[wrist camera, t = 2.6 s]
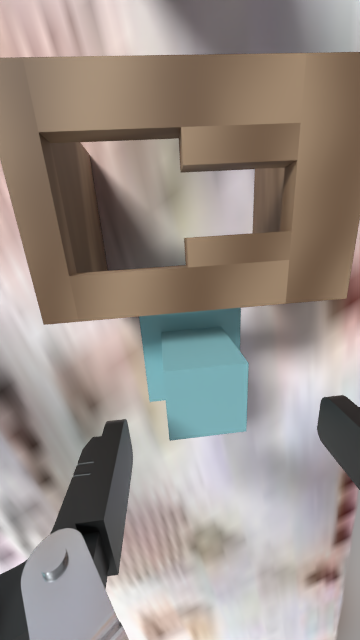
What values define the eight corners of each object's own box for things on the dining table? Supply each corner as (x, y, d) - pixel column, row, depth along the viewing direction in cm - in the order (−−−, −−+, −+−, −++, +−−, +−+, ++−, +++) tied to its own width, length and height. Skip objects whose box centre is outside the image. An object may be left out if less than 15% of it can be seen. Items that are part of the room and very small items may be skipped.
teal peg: (151, 368, 22) (146, 462, 12) (143, 297, 20) (130, 348, 10) (222, 360, 22) (269, 447, 13) (221, 291, 20) (277, 334, 11)
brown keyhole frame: (94, 287, 19) (43, 324, 10) (71, 155, 16) (-27, 58, 8) (265, 273, 20) (346, 298, 11) (272, 146, 17) (387, 51, 8)
